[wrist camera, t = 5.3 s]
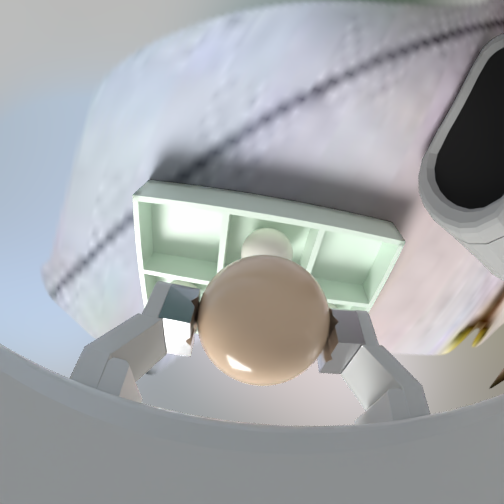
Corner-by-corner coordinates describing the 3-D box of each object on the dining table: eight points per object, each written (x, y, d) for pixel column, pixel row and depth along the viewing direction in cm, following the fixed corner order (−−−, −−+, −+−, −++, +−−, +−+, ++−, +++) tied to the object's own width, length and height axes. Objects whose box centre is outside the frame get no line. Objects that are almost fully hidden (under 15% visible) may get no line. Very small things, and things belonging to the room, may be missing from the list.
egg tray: (391, 222, 24) (405, 241, 21) (339, 329, 33) (344, 351, 30) (148, 179, 23) (132, 195, 20) (156, 302, 32) (147, 323, 29)
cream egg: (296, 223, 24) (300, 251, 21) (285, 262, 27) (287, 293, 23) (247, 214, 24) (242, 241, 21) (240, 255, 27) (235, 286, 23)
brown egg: (335, 240, 10) (366, 337, 6) (302, 321, 12) (310, 409, 9) (213, 220, 10) (182, 314, 6) (206, 308, 12) (186, 397, 8)
